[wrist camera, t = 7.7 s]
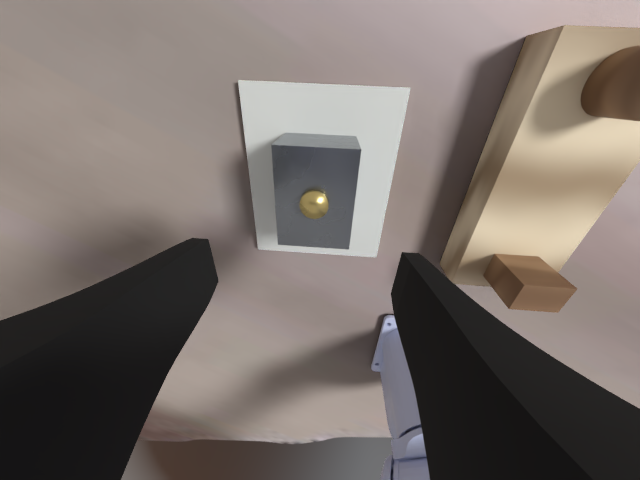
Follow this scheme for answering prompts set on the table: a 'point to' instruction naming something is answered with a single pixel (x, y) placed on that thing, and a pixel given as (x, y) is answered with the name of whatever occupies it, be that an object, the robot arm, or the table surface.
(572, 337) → the table surface
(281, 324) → the table surface
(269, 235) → the felt mat
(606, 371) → the table surface
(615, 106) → the body
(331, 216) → the lever cap
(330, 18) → the table surface
